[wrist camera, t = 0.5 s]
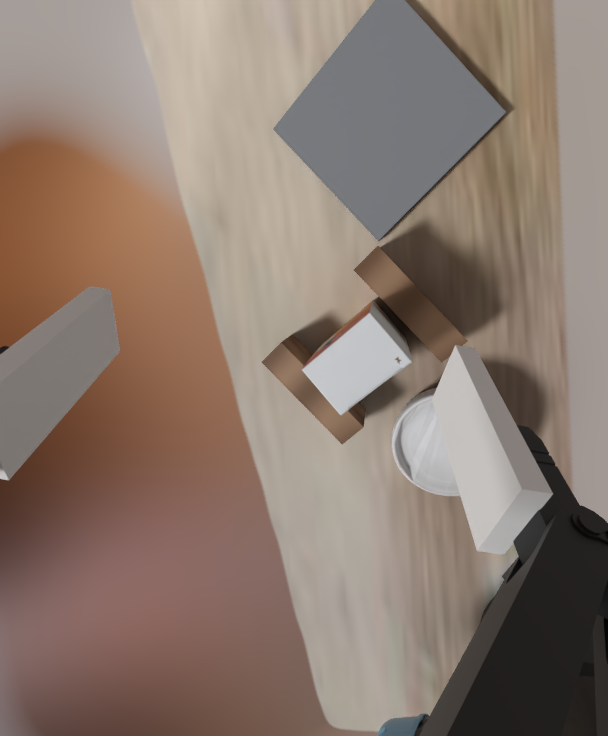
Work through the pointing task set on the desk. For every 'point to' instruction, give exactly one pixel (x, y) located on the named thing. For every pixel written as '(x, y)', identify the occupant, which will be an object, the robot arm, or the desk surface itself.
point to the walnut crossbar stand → (404, 304)
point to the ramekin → (423, 447)
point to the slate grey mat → (387, 115)
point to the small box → (358, 358)
